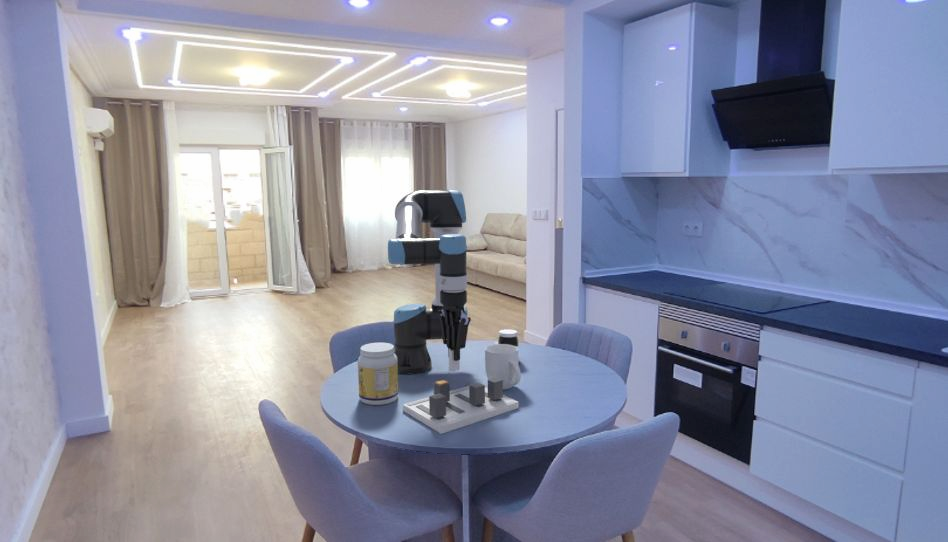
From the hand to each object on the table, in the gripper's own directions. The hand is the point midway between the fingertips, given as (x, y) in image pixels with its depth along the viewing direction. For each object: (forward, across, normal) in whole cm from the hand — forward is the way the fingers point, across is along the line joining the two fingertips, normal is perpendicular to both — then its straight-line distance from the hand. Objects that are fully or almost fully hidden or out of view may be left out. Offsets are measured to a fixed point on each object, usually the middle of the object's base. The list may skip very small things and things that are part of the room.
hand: (454, 370), depth 158 cm
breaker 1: (+11, -6, 0) cm, 13 cm away
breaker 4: (+11, +2, +14) cm, 18 cm away
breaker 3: (+11, +2, +7) cm, 13 cm away
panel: (+14, -2, +4) cm, 14 cm away
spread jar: (+15, -30, +44) cm, 56 cm away
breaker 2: (+11, +2, -7) cm, 13 cm away
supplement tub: (+14, -25, -12) cm, 31 cm away
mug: (+14, -8, +26) cm, 30 cm away
